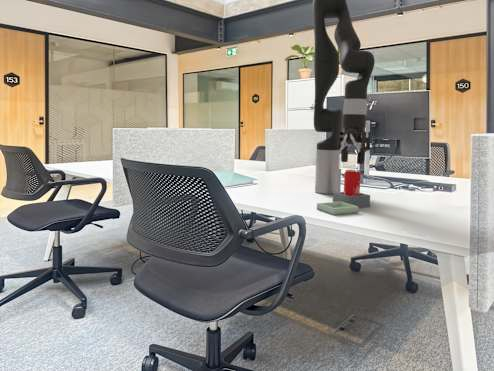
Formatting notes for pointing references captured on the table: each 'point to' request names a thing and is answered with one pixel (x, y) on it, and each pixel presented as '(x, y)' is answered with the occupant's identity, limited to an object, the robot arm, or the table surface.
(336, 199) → the dark grey open box
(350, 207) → the tray
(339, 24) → the robot arm
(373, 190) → the table surface
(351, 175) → the beverage can
